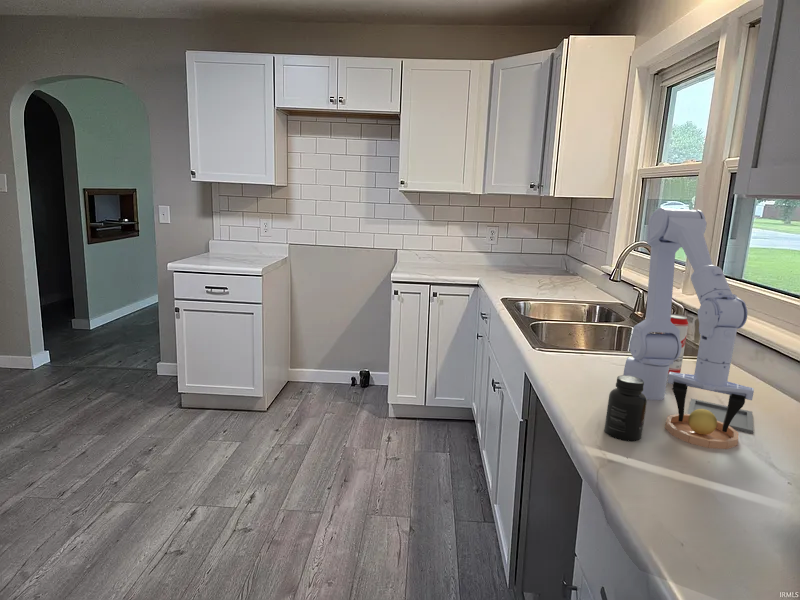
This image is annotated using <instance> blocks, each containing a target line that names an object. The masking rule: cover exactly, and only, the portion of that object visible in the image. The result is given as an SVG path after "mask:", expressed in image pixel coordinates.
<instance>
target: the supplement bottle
mask: <svg viewBox="0 0 800 600" xmlns="http://www.w3.org/2000/svg"><path fill="white" fill-rule="evenodd" d="M643 386H644V381H643V380H642V379H640V378H637V377H633V376H627V375H623V374H622V375H618V376H617V378H616V383H615V387H616V388H613V389H612V390H611V391H610V392H609V394H608V401H607V409H606V415H605V423H604V433H605V434H606V436H607V435H608V436H609V437H611V438H613V439H616V440H619V441H623V442H629V443H630V442H639V441H640V440H641V439H642V435H643V431H644V429H643V428H644V423H645V417H646V412H647V411H646V410H647V402H648V399H646V397H645V395H644V394H643V393H641V392H642V391H643Z"/></svg>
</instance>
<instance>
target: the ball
mask: <svg viewBox="0 0 800 600" xmlns="http://www.w3.org/2000/svg"><path fill="white" fill-rule="evenodd" d="M688 422H689V426H690V427H691V429H692V430H693V431H694V432H696V433H698V434H702V435H707V434H710V433H712V432H713V431H714V430H715V429H716V427H717V419H716V417H715V416H714V414H713V413H712V412H710V411H708V410H706V409H697V410H695V411H693V412H692V413H691V414H690V416H689V419H688Z"/></svg>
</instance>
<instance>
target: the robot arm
mask: <svg viewBox="0 0 800 600" xmlns="http://www.w3.org/2000/svg"><path fill="white" fill-rule="evenodd" d="M647 224H648V225H647V226H648V227H647V243H646V244H647V245H648V246H649V247H650V255H649V256H650V257H649V270H648V271H649V273H648V283H647V285H648V287H647V301H646V313H645V319H643V320H642V321H640V322H639V323H637V324H635V325H634V326H633V329H632V334H631V338H630V340H629V345H628V346H629V351H630V354H631V356H627V358H626V360H625V364H624V368H623V374H622V375H627V376H633V377H637V378H640V379H642V380H643V381H644V386H643V391H642V392H641V393H643V394H644V395H645V397H646V399H647V400H650V401H661V400H664V398H665V395H668V394H667V393H666V389H667V384H671V385H673V386H672V392H673V395H674V398H675V401H676V405H677V411H678V413H679V420H678V421H681V422H682V421H683V416H684V414H685V407H686V406H685V403H686V398H687V392H688V387H690V388H695V389H700V390H703V391H704V390H705V391H710V392H715V393H720V394H723V395H729V397H728V402H727V406H728V407H727V412H726V416H725V419H724V423H723V430H722V431H724V432H727V429H728V426H729V424H730V422H731V421H732V419H733V417H734V416H735V415H736V413H737V412H738V411H739V410H740V409H742V408H743V407H744V405H745V403H746V400H748V401H753V397H754V393H755V392H754V391H755V388H754V387H750V386H745V385H742V384H739V383H735V382H732V381H728V380H729V376H730V375H729V374H730V369H731V364H732V360H733V359H732V357H733V354H734V349H735V344H736V343H735V342H736V338H737V332H738V331H737V330H738V329H741V328H742V327H744V325H745V324H746V322H747V319H748V316H749V314H748V308H747V304H746V302H745V301H744V300H743V299H741V298H739V297H738V296H737V294H733V292H732V289H731V288H730V286H729V285H730V284H729V283H728V281H727V278H726V276H725V274H724V272H723V269H722V268H721V267H720V266H717V265H714V263H713V261H712V258H711V254H710V251H709V248H708V245H707V241H706V238H705V233H706V229H707V224H708V223H707V220H706V217H705V214H704V212H703V211H702V210H701V209H681V208H679V209H675V208H664V207H658V208H656V209H655V210H654V211H653V212H652V214H651V215H650V217H649V218H648V223H647ZM681 248H682V250H683V252H684V254H685V256H686V258H687V260H688V262H689V264H690V265H691V268H692V270H693V272H692V274H691V275H690V281H691V284H692V286H693V289H694V291H695V294H696V296H697V299H698V301H699V305H700V306H699V308H698V309H697V319H698V323H699V324H698V325H699V326H698V333H699V335H700V340H699V344H698V345H699V346H698V351H697V356H696V363H695V368H694V373H693V374H689V373H682V372H680V373H675V372H669V366H670V364H673V361H674V360H676V359H677V358H678V357H679V355H680V353H681V349H682V346H681V341H680V330H679V329H678V328H677V327H676V326H675V325H674V324H673V323H672V322H671V321H670V320H671V314H672V305H673V304H672V303H673V291H674V289H673V288H674V279H675V278H674V274H675V266H676V265H675V263H676V253H677V251H679V249H681ZM661 332H663V333H665V334H661ZM668 372H669V376H668ZM678 413H677V414H678Z"/></svg>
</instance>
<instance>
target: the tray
mask: <svg viewBox="0 0 800 600" xmlns="http://www.w3.org/2000/svg"><path fill="white" fill-rule="evenodd" d="M727 407H728V405H723V404H719V403H714V402H709V401H705V400H700V399H695V398H690V402H689V405H688V410H687V413H686V414H691V413H692V412H693V411H695V410H697V409H706V410H708V411H710V412H712V413H713V414H714V416H715V417H716V419H717V421H720V422H722V423H724V419H725V416H726V412H727ZM753 419H754V418H753V411H752V410H746V409H742V408H741V409H740V410H739V411H738V412H737V413H736V415H735V416H734V417H733V419H732V421H731V422H730V424H729V426H731V427H732V428H733V429H734V430H736V431H740V432H744V433H749V434H753V433H754V420H753Z"/></svg>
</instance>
